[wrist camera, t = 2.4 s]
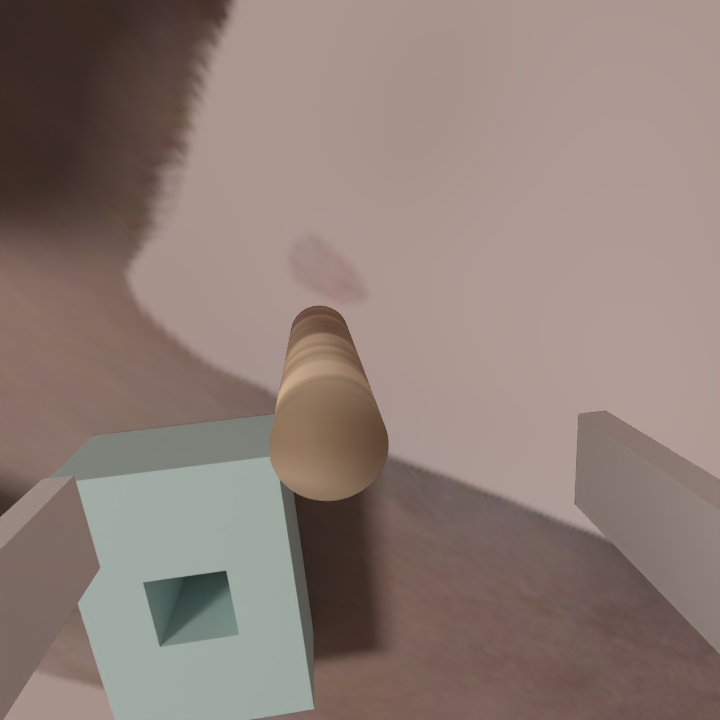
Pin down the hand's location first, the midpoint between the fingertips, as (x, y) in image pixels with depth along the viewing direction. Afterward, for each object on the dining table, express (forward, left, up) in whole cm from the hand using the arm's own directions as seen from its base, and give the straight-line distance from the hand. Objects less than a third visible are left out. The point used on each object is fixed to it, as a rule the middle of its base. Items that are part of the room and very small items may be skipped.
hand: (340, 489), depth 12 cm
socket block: (+14, -9, -18) cm, 24 cm away
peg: (0, 0, -18) cm, 18 cm away
